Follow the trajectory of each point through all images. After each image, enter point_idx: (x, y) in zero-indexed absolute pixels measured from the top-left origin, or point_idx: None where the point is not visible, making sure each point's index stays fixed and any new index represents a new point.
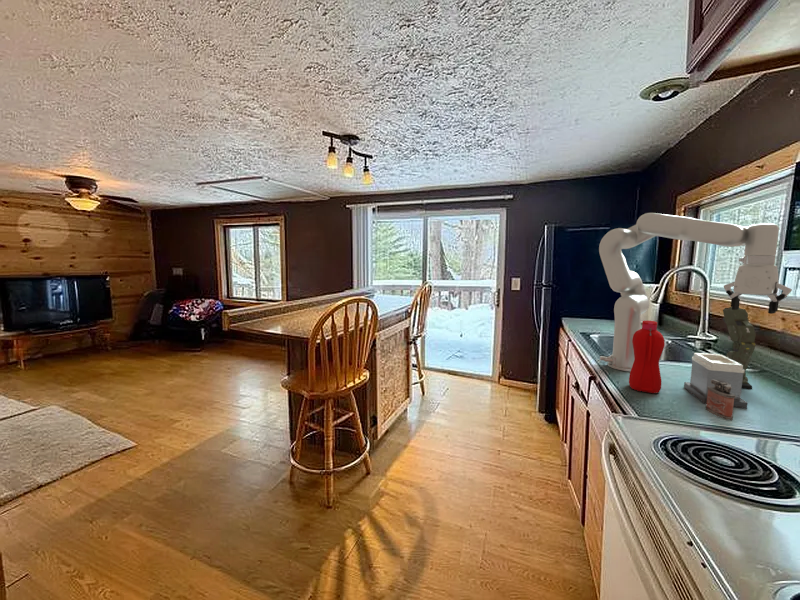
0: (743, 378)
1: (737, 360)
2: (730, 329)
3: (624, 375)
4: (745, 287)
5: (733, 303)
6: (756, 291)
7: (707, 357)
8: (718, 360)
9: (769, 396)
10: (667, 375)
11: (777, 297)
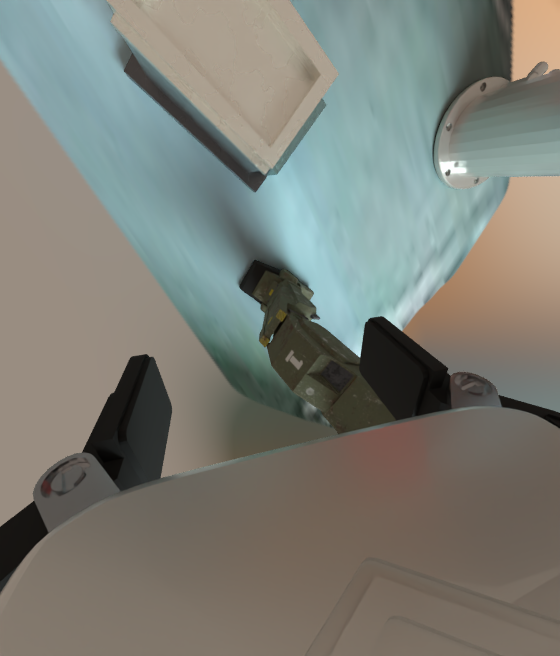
0: (264, 298)
1: (279, 294)
2: (347, 352)
3: (450, 35)
4: (486, 545)
5: (403, 340)
6: (250, 514)
7: (294, 111)
8: (259, 124)
9: (195, 269)
10: (378, 192)
11: (33, 535)
